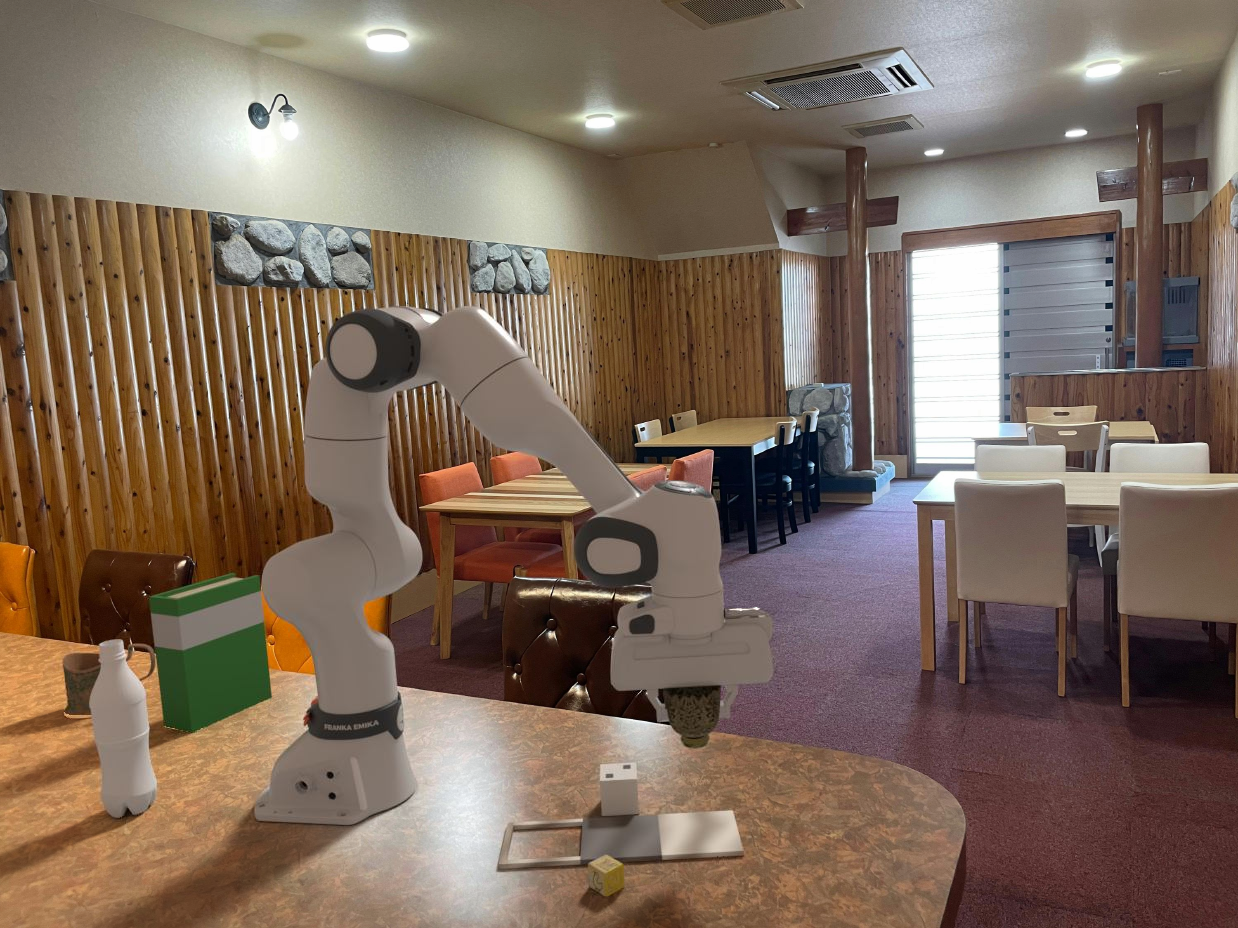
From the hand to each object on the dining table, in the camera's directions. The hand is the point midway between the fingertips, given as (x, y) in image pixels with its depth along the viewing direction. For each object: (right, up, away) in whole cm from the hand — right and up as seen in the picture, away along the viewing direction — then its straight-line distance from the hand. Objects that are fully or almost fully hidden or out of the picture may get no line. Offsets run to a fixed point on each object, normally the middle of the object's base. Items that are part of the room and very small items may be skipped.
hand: (693, 718), depth 115 cm
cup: (0, -4, 0) cm, 4 cm away
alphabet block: (-11, -18, -8) cm, 22 cm away
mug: (-106, -15, +60) cm, 123 cm away
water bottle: (-80, -18, +18) cm, 84 cm away
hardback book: (-83, -14, +54) cm, 101 cm away
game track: (-9, -16, +2) cm, 19 cm away
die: (-9, -15, +11) cm, 21 cm away
